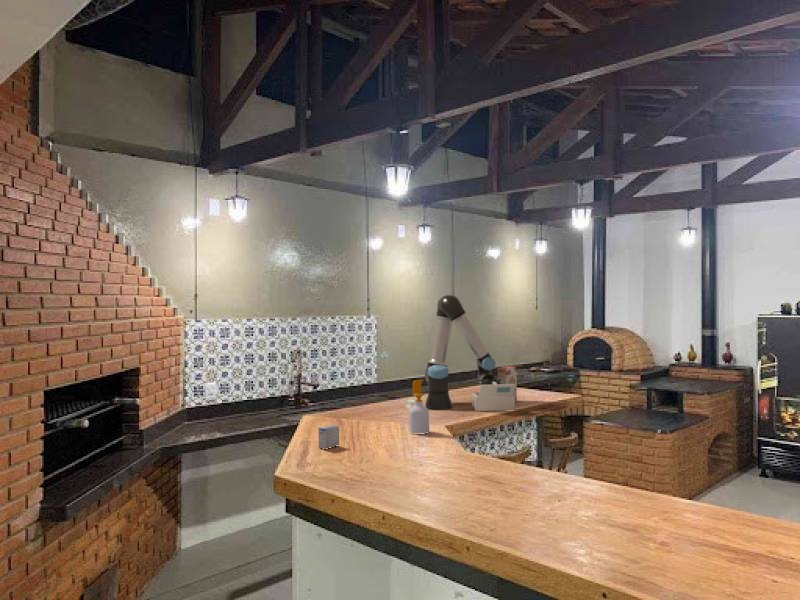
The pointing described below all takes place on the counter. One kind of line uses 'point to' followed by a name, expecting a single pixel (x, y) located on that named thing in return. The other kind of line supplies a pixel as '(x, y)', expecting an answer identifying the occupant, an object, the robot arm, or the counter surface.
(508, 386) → the front flap
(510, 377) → the cracker box
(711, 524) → the counter surface
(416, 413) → the soap bottle
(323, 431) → the medicine box
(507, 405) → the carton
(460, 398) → the counter surface
